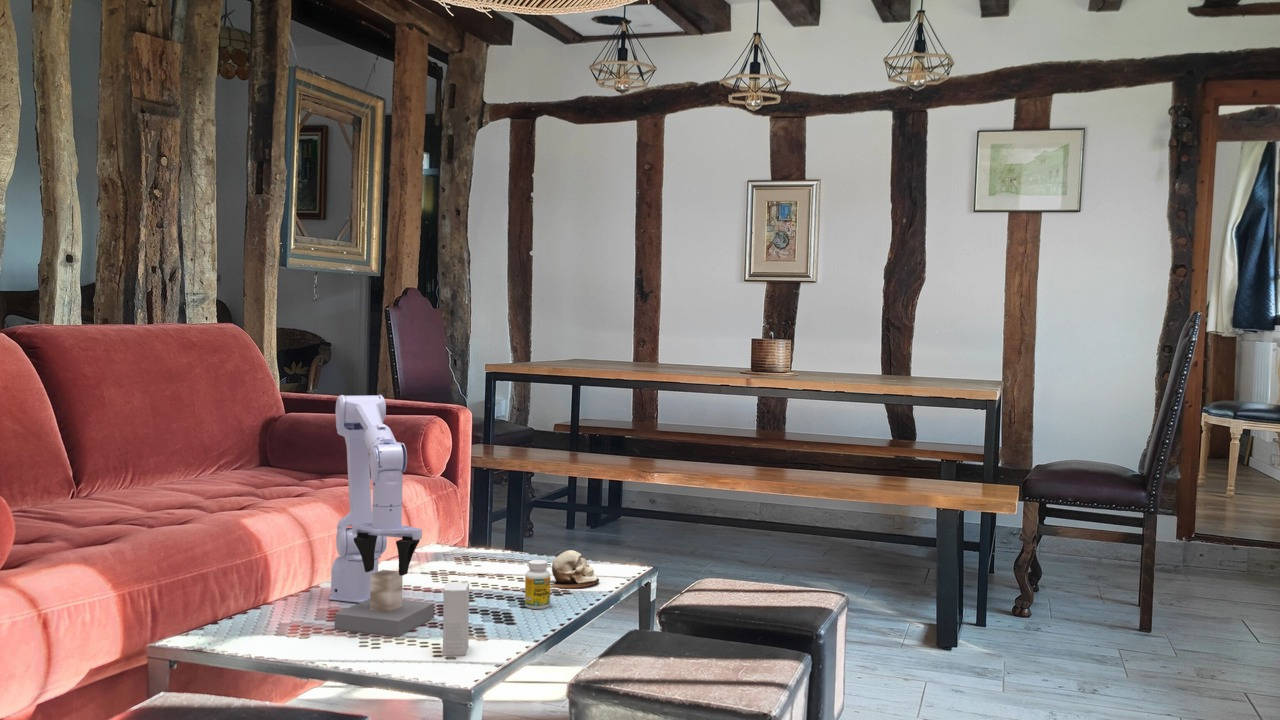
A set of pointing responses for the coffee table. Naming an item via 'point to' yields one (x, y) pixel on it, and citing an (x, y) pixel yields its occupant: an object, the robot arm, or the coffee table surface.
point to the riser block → (384, 618)
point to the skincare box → (455, 618)
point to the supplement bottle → (537, 585)
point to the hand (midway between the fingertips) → (386, 572)
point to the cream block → (386, 591)
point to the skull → (572, 571)
